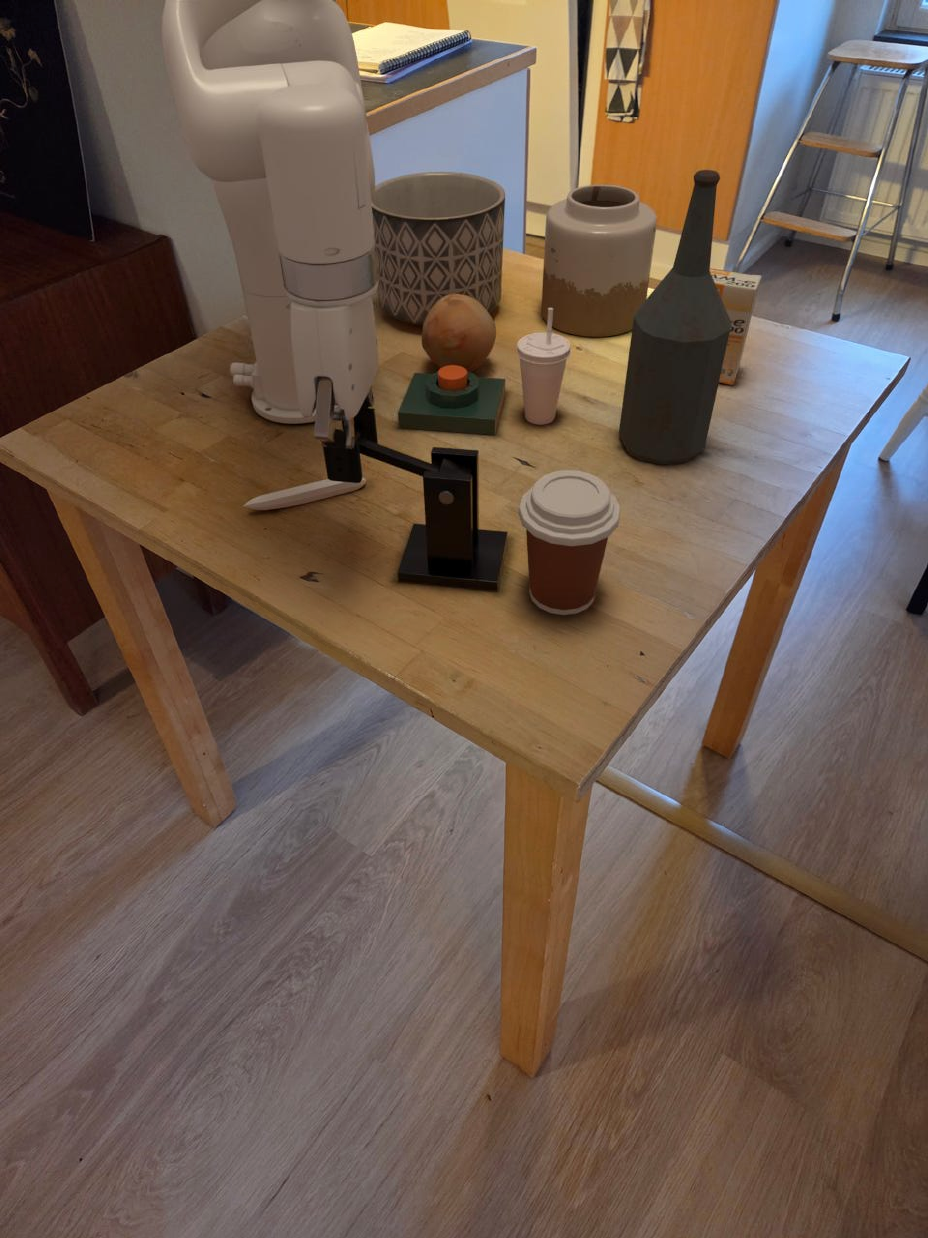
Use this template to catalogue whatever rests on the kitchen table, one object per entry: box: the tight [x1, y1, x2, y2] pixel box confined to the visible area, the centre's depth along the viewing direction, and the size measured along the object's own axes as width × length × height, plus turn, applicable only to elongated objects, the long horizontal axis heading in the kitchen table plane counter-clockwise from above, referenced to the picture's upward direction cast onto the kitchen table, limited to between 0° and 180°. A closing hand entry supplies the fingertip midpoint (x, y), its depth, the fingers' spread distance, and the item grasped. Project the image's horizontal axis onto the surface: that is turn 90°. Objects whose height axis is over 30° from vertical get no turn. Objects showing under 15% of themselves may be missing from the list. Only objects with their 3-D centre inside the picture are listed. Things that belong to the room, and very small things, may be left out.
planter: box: [371, 171, 506, 326], centre depth 123 cm, size 19×19×16 cm
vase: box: [541, 184, 658, 338], centre depth 121 cm, size 15×15×17 cm
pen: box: [242, 477, 367, 511], centre depth 94 cm, size 2×14×2 cm, turn 113°
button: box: [437, 365, 467, 391], centre depth 104 cm, size 4×4×2 cm
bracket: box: [396, 446, 509, 592], centre depth 82 cm, size 10×8×12 cm
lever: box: [354, 421, 471, 478], centre depth 79 cm, size 12×5×2 cm, turn 81°
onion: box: [421, 294, 497, 373], centre depth 112 cm, size 10×10×10 cm
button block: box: [397, 371, 506, 436], centre depth 106 cm, size 12×10×4 cm
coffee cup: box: [517, 469, 622, 616], centre depth 79 cm, size 9×9×12 cm
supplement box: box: [710, 267, 762, 386], centre depth 109 cm, size 8×5×13 cm, turn 68°
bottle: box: [618, 169, 732, 466], centre depth 91 cm, size 10×10×30 cm
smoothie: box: [516, 308, 572, 425], centre depth 101 cm, size 6×6×14 cm
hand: (353, 460), depth 80 cm, fingers closed on lever, 5 cm apart
